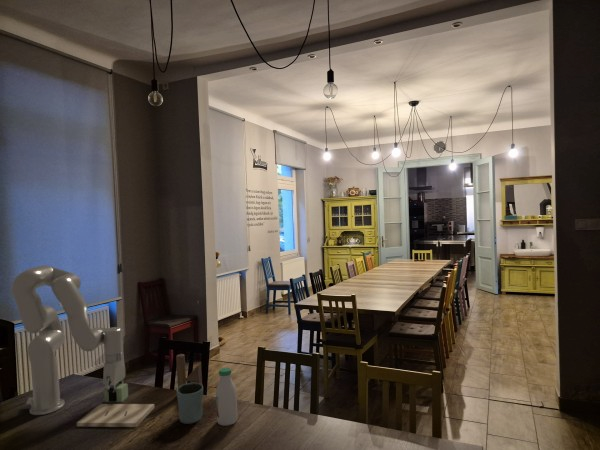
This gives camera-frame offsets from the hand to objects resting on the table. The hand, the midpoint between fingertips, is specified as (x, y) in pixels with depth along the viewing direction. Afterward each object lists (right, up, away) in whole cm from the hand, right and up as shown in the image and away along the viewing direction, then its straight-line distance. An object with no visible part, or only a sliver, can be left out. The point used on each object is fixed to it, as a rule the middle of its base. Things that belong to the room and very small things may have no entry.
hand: (116, 397), depth 176 cm
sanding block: (0, -1, 0) cm, 1 cm away
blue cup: (+37, -1, -18) cm, 41 cm away
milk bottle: (+52, 0, -21) cm, 56 cm away
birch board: (+7, -2, -14) cm, 16 cm away
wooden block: (+31, 0, +2) cm, 31 cm away
